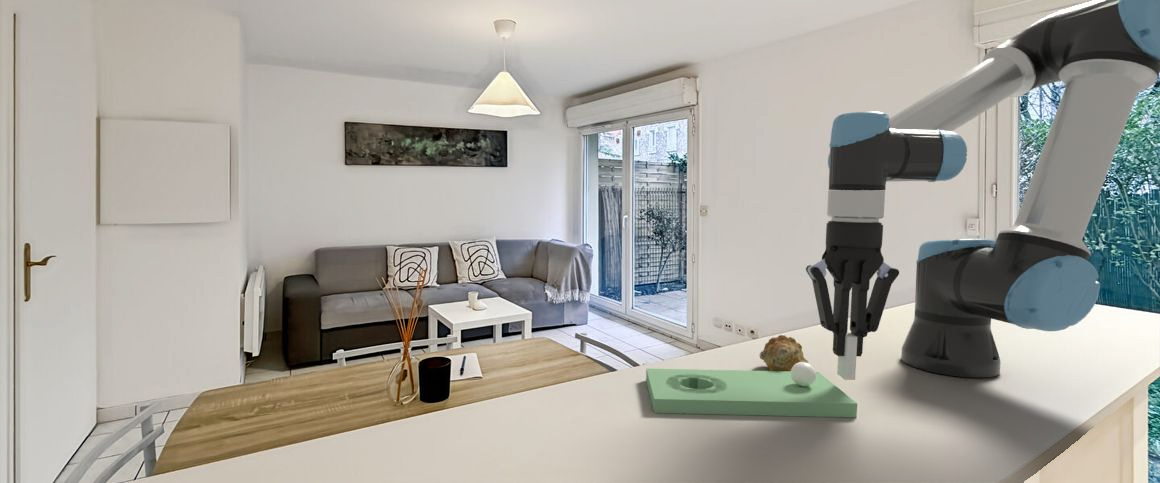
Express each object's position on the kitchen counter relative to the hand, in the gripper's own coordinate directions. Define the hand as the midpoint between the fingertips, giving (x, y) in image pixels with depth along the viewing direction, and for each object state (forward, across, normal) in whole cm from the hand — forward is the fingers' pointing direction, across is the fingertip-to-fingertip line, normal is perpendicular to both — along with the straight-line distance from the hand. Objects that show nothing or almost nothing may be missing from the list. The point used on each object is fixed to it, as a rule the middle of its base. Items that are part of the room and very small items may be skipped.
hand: (846, 376), depth 86 cm
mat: (+4, +15, 0) cm, 16 cm away
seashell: (+4, +5, -14) cm, 15 cm away
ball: (0, +6, 0) cm, 6 cm away
